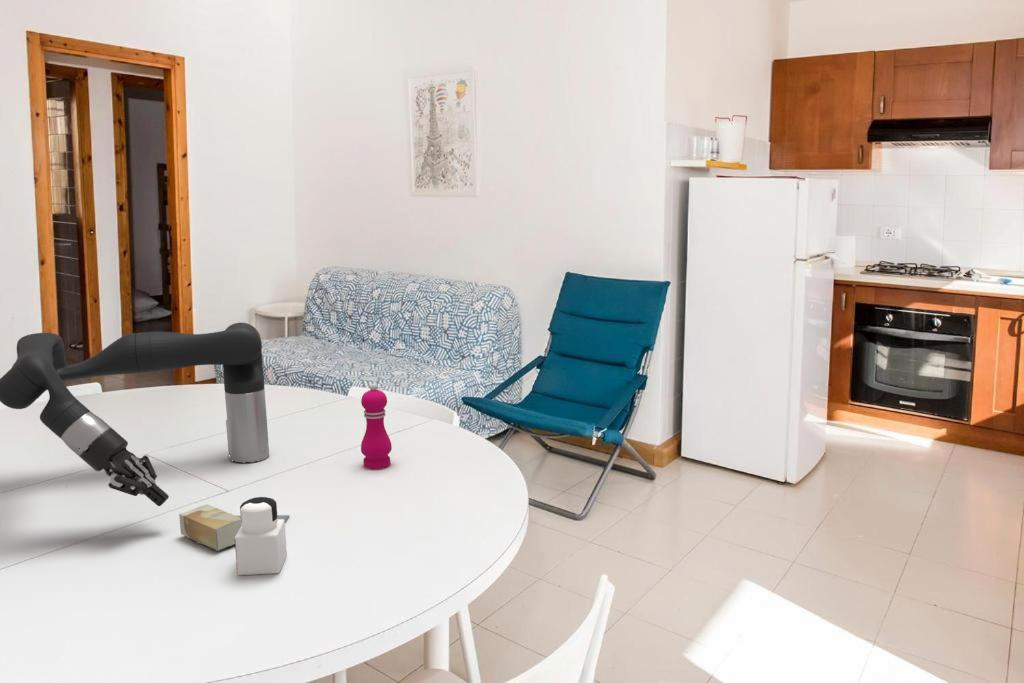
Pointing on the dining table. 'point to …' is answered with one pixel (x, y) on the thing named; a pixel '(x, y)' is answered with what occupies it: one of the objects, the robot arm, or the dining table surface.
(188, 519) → the skincare box
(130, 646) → the dining table surface
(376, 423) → the pepper mill
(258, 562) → the medicine bottle
